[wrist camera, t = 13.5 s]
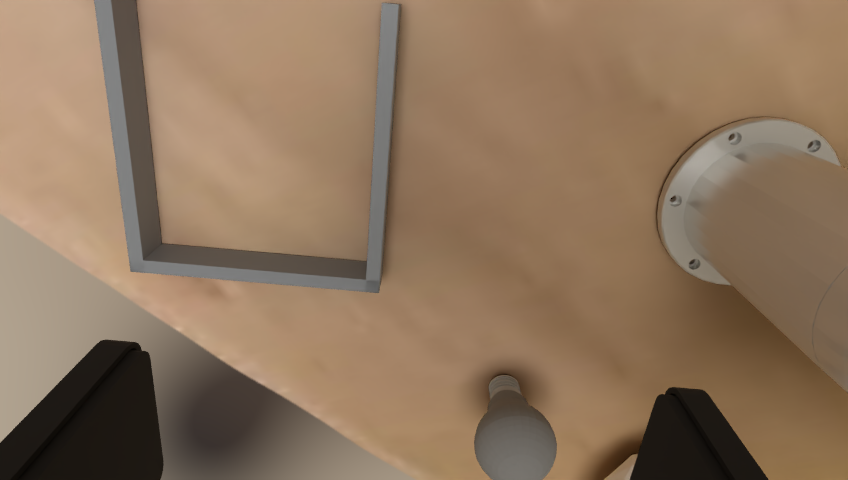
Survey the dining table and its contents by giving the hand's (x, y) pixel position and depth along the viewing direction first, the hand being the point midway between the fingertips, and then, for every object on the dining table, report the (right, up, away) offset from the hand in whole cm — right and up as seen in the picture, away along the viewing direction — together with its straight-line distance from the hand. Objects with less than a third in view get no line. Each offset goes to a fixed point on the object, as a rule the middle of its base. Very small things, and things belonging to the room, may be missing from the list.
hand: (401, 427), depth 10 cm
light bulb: (+7, -9, +37) cm, 39 cm away
